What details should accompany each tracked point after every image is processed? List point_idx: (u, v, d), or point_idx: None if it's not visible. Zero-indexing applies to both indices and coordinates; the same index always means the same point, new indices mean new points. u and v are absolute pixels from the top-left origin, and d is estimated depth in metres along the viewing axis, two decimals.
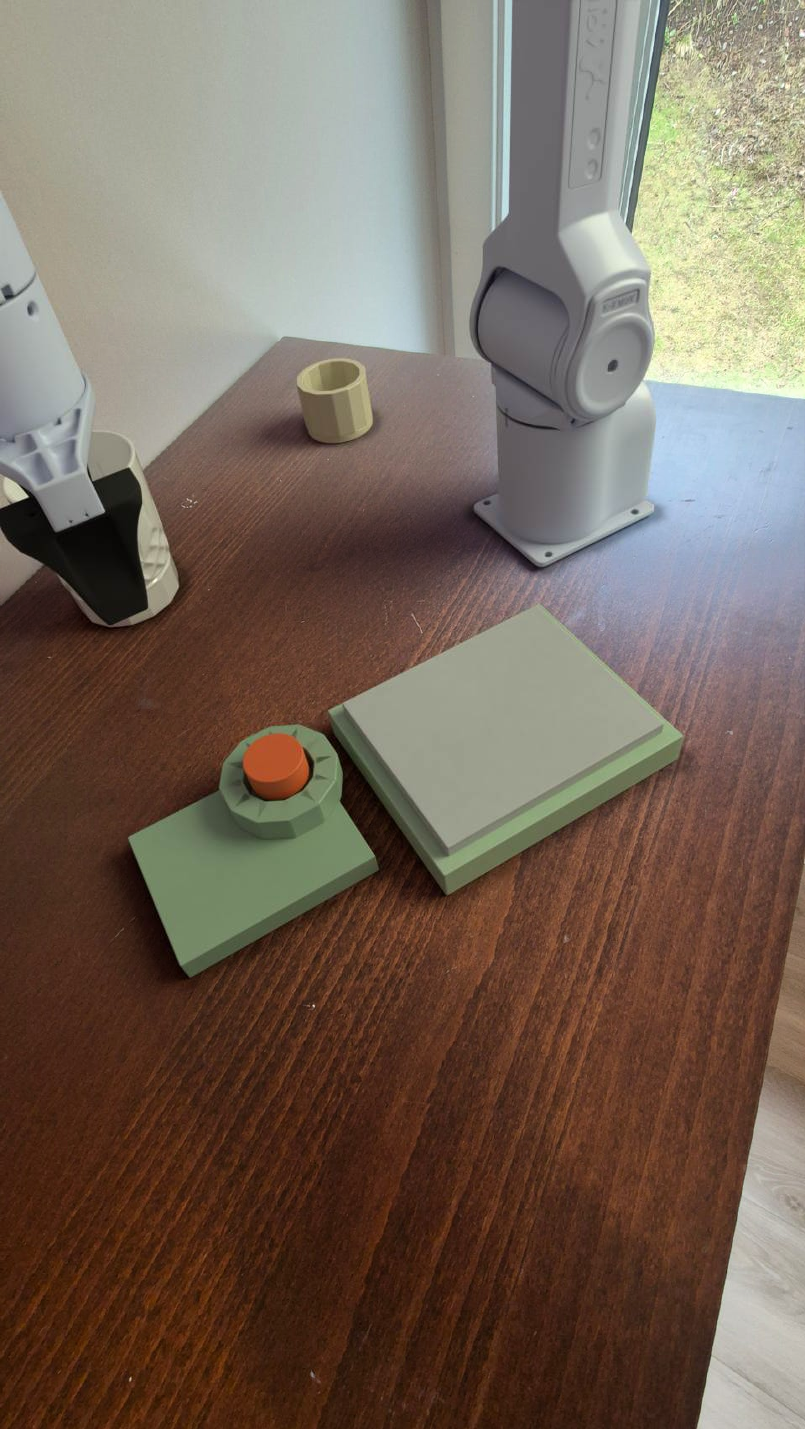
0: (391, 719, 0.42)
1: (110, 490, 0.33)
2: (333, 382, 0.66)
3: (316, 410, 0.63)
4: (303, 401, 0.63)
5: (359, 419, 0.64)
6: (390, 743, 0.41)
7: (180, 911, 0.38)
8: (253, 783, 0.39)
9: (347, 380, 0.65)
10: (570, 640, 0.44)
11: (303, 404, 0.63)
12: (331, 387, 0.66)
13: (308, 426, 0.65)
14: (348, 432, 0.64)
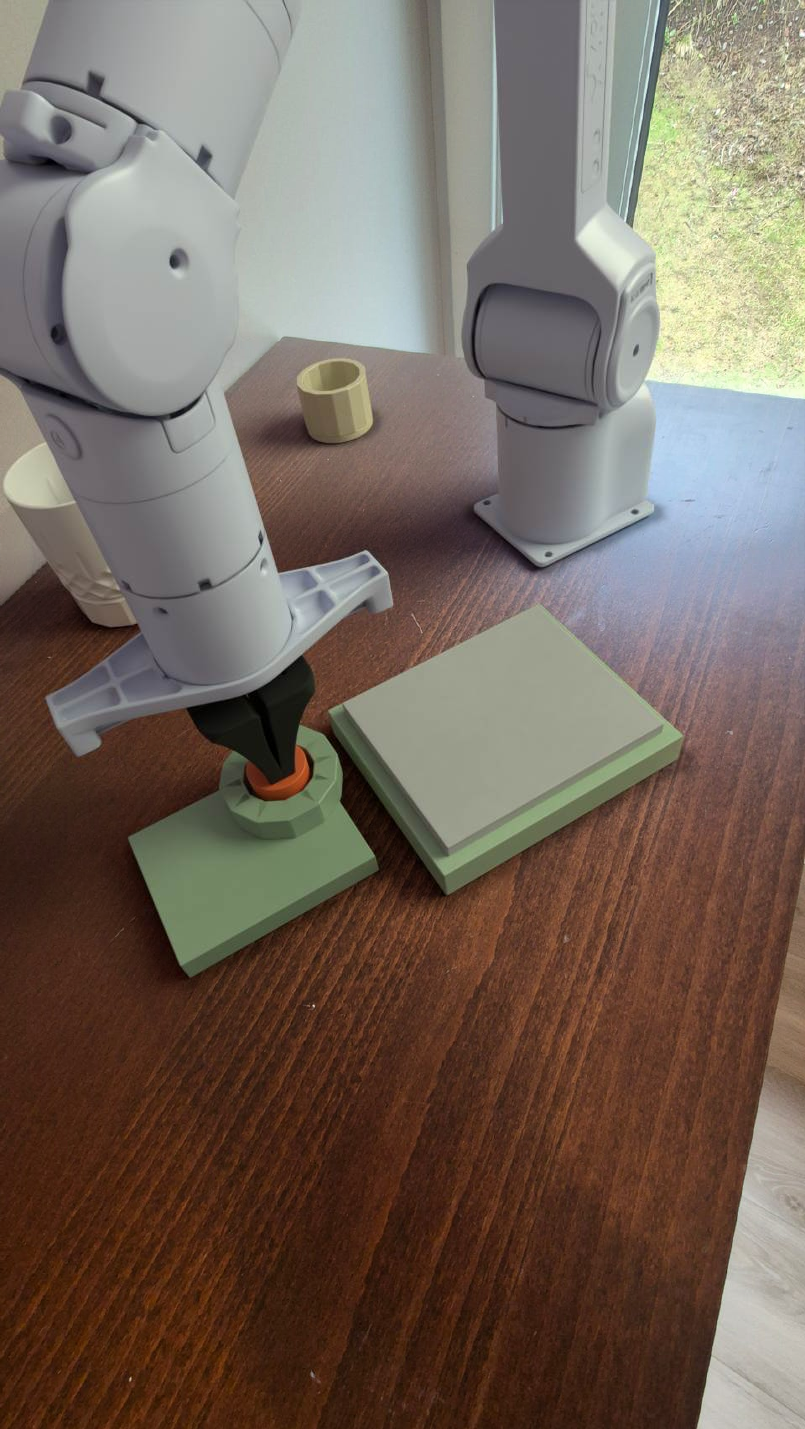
0: (391, 719, 0.42)
1: (217, 711, 0.34)
2: (333, 382, 0.66)
3: (316, 410, 0.63)
4: (303, 401, 0.63)
5: (359, 419, 0.64)
6: (390, 743, 0.41)
7: (180, 911, 0.38)
8: (256, 791, 0.40)
9: (347, 380, 0.65)
10: (570, 640, 0.44)
11: (303, 404, 0.63)
12: (331, 387, 0.66)
13: (308, 426, 0.65)
14: (348, 432, 0.64)
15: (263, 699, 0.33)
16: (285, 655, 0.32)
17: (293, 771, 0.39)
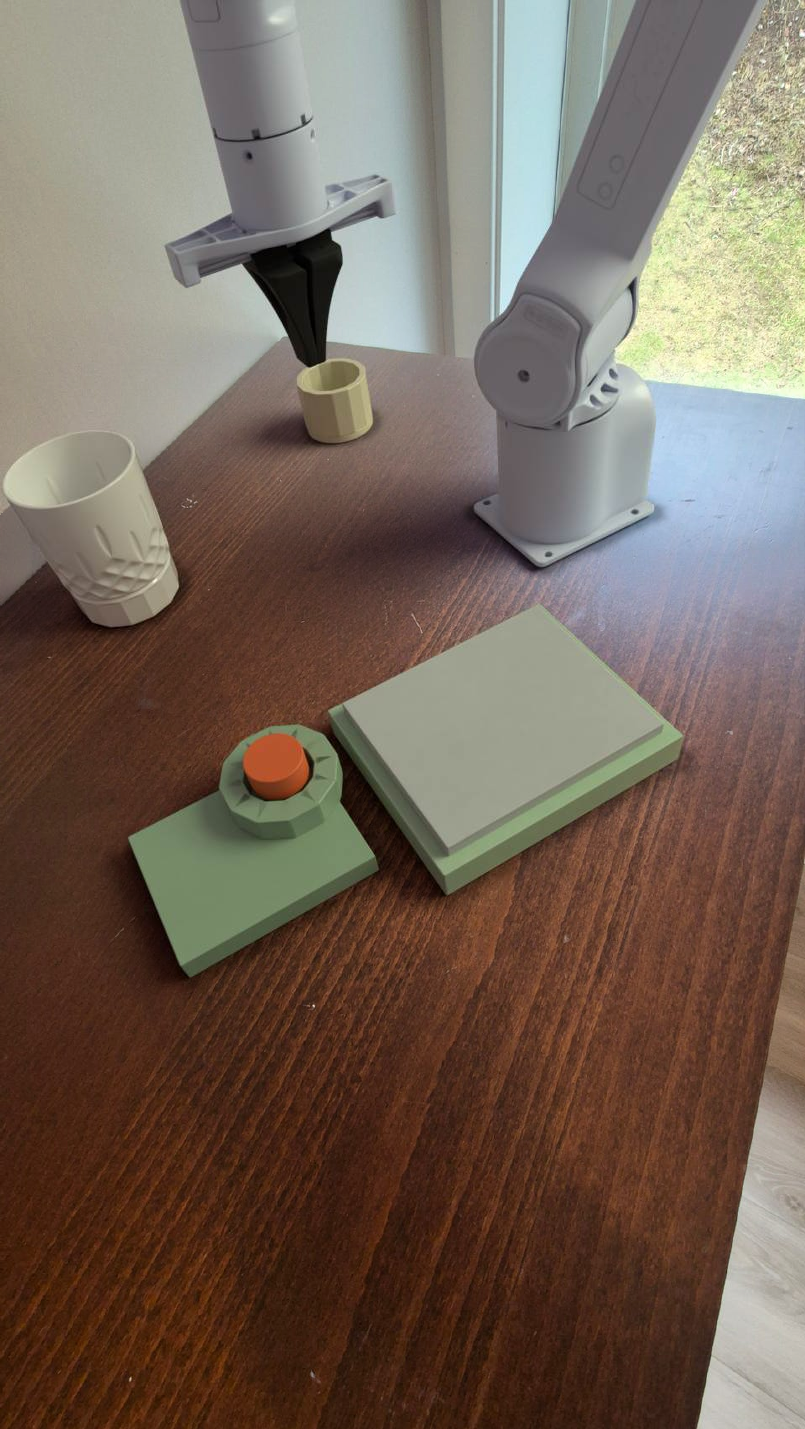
0: (391, 719, 0.42)
1: (277, 269, 0.49)
2: (333, 382, 0.66)
3: (316, 410, 0.63)
4: (303, 401, 0.63)
5: (359, 419, 0.64)
6: (390, 743, 0.41)
7: (180, 911, 0.38)
8: (253, 783, 0.39)
9: (347, 380, 0.65)
10: (570, 640, 0.44)
11: (303, 404, 0.63)
12: (331, 387, 0.66)
13: (308, 426, 0.65)
14: (348, 432, 0.64)
15: (308, 259, 0.49)
16: (324, 217, 0.48)
17: (324, 358, 0.55)
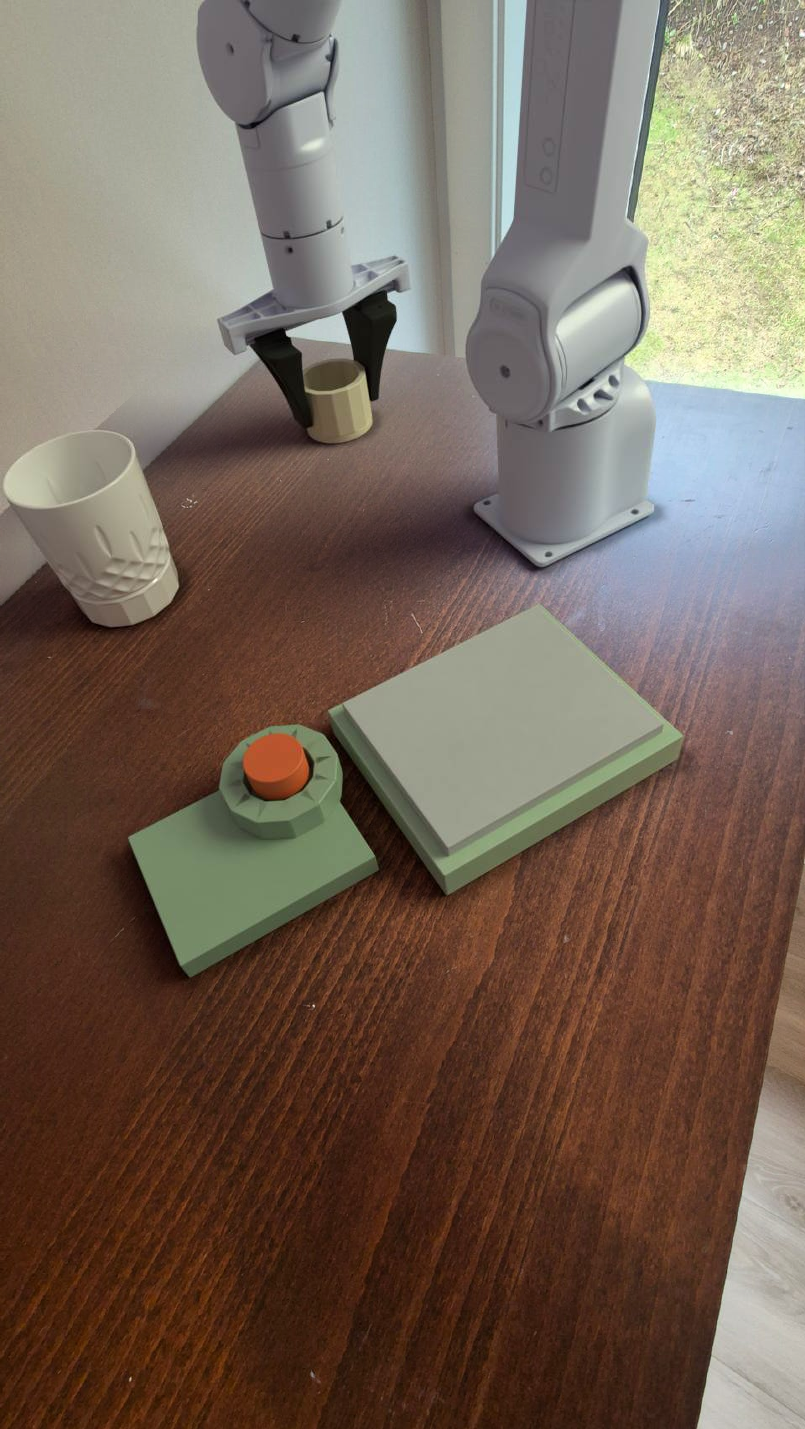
0: (391, 719, 0.42)
1: (277, 350, 0.58)
2: (332, 382, 0.66)
3: (316, 411, 0.63)
4: None
5: (359, 419, 0.64)
6: (390, 743, 0.41)
7: (180, 911, 0.38)
8: (253, 783, 0.39)
9: (347, 380, 0.65)
10: (570, 640, 0.44)
11: None
12: (330, 387, 0.66)
13: None
14: (348, 432, 0.64)
15: (369, 317, 0.59)
16: (351, 296, 0.57)
17: (377, 396, 0.65)
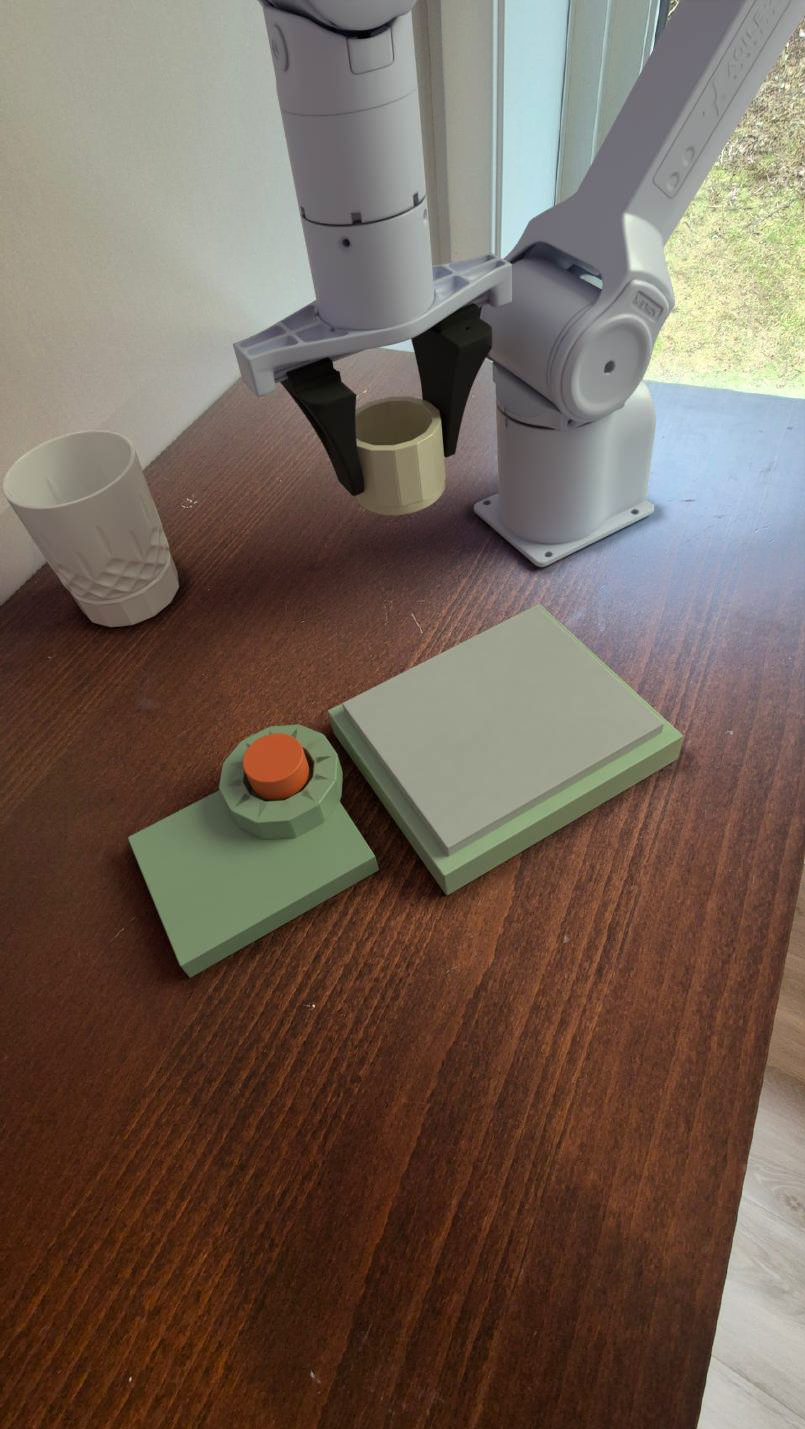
0: (391, 719, 0.42)
1: (319, 391, 0.39)
2: (391, 429, 0.47)
3: (370, 472, 0.44)
4: None
5: (429, 483, 0.45)
6: (390, 743, 0.41)
7: (180, 911, 0.38)
8: (253, 783, 0.39)
9: (411, 426, 0.47)
10: (570, 640, 0.44)
11: None
12: (387, 435, 0.48)
13: None
14: (413, 501, 0.45)
15: (454, 343, 0.41)
16: (432, 313, 0.39)
17: (454, 450, 0.47)
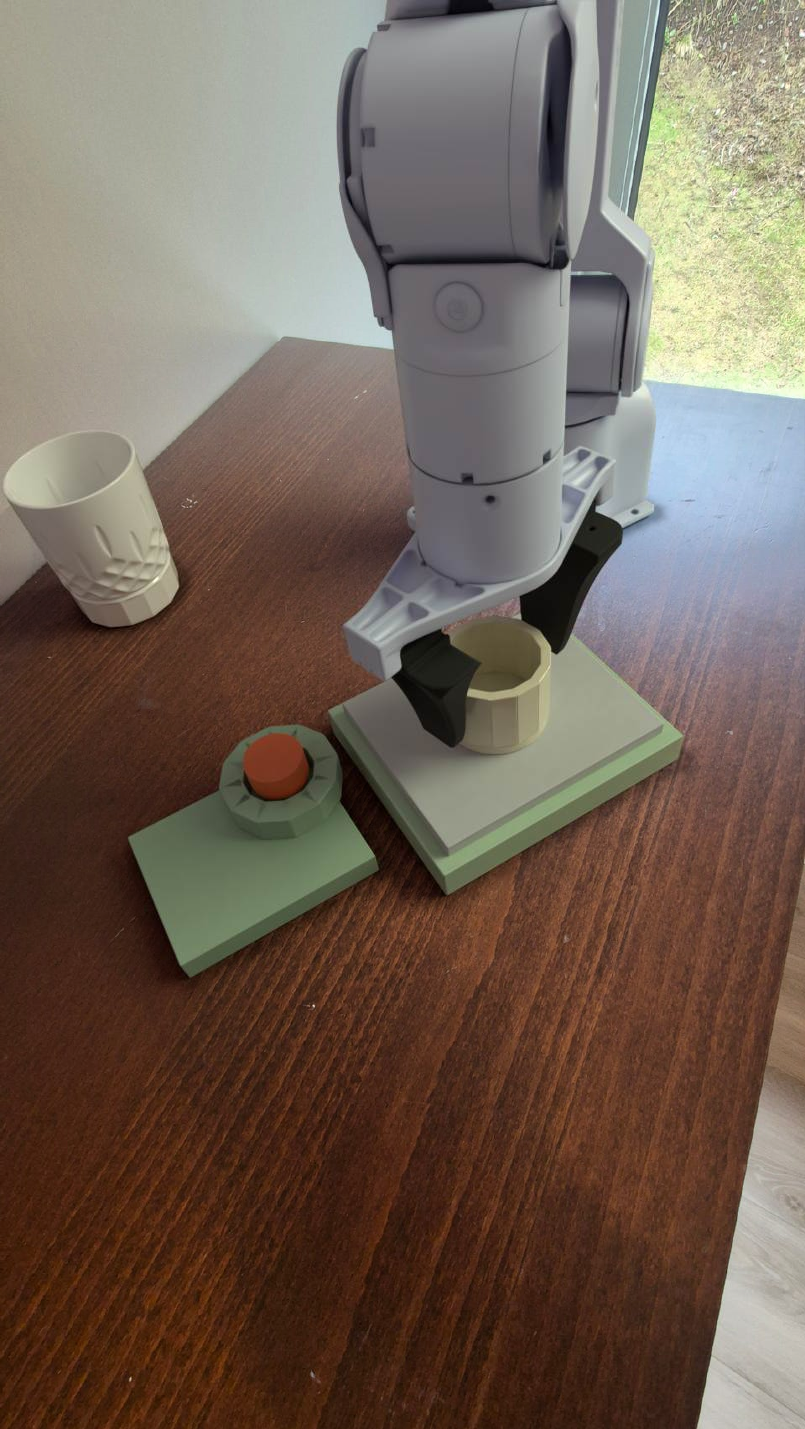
0: (391, 719, 0.42)
1: (436, 666, 0.32)
2: (474, 650, 0.41)
3: (486, 719, 0.38)
4: None
5: (544, 712, 0.39)
6: (390, 743, 0.41)
7: (180, 911, 0.38)
8: (253, 783, 0.39)
9: (498, 645, 0.41)
10: (570, 640, 0.44)
11: None
12: None
13: None
14: (529, 735, 0.39)
15: (590, 552, 0.35)
16: (565, 543, 0.32)
17: (565, 645, 0.41)
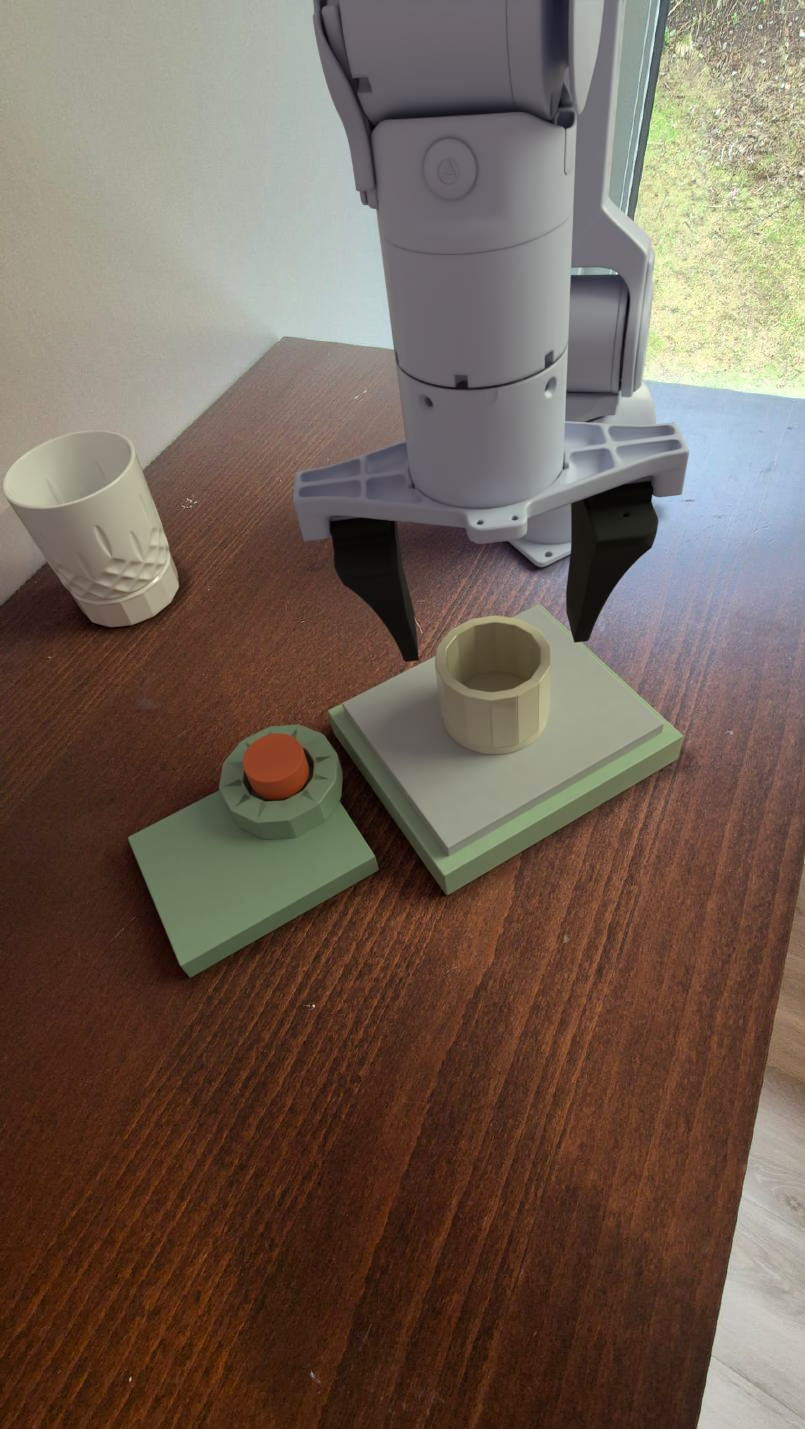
0: (391, 719, 0.42)
1: None
2: (474, 650, 0.41)
3: (486, 719, 0.38)
4: (459, 705, 0.38)
5: (544, 712, 0.39)
6: (390, 743, 0.41)
7: (180, 911, 0.38)
8: (253, 783, 0.39)
9: (498, 645, 0.41)
10: (570, 640, 0.44)
11: (454, 707, 0.38)
12: (470, 658, 0.41)
13: (458, 733, 0.40)
14: (529, 735, 0.39)
15: None
16: None
17: None
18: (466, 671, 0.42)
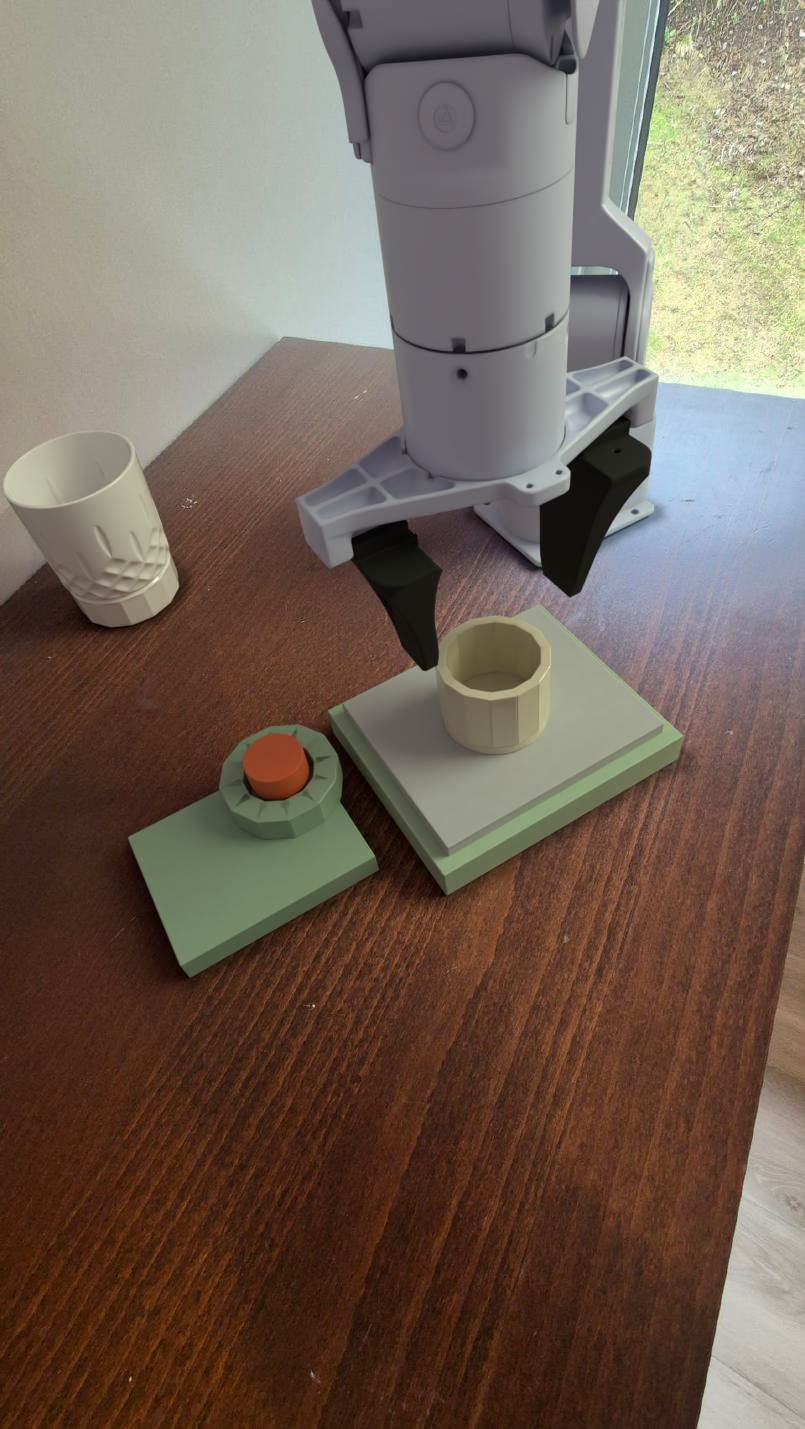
0: (391, 719, 0.42)
1: None
2: (474, 650, 0.41)
3: (486, 719, 0.38)
4: (459, 705, 0.38)
5: (544, 712, 0.39)
6: (390, 743, 0.41)
7: (180, 911, 0.38)
8: (253, 783, 0.39)
9: (498, 645, 0.41)
10: (570, 640, 0.44)
11: (454, 707, 0.38)
12: (470, 658, 0.41)
13: (458, 733, 0.40)
14: (529, 735, 0.39)
15: None
16: None
17: None
18: (466, 671, 0.42)
